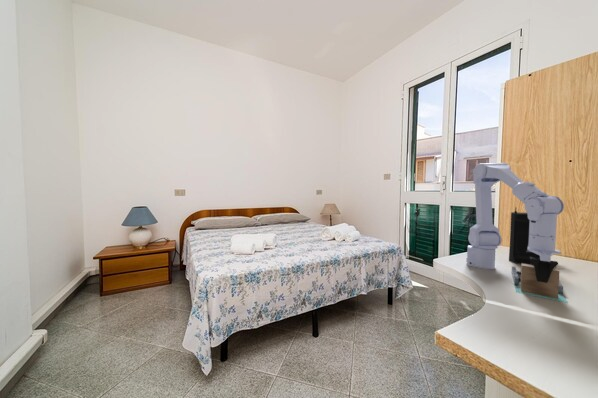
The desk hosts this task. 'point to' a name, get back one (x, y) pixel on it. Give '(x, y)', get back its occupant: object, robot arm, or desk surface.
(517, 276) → the rack
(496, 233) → the robot arm
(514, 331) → the desk surface
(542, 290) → the walnut panel
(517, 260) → the portable radio
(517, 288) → the teal mat
